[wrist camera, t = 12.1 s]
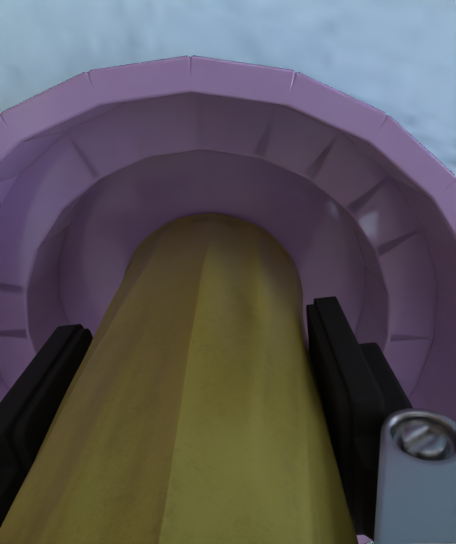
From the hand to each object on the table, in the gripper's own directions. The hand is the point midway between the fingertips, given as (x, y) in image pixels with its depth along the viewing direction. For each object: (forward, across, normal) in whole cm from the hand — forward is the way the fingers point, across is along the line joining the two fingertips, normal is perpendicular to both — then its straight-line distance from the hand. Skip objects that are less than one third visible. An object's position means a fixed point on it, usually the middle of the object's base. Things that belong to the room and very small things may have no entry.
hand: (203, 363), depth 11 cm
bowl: (+4, 0, 0) cm, 4 cm away
